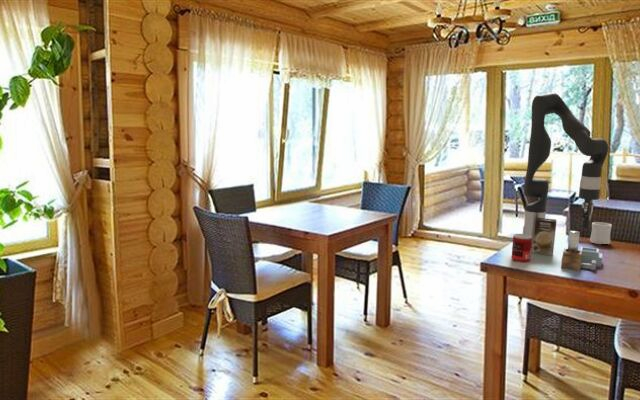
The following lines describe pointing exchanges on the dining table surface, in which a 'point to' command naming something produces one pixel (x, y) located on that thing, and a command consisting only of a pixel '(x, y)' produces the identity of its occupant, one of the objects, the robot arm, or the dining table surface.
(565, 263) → the socket block
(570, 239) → the peg
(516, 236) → the canned food
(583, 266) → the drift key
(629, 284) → the dining table surface
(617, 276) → the dining table surface
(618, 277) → the dining table surface
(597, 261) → the block
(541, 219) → the coffee box
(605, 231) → the mug
